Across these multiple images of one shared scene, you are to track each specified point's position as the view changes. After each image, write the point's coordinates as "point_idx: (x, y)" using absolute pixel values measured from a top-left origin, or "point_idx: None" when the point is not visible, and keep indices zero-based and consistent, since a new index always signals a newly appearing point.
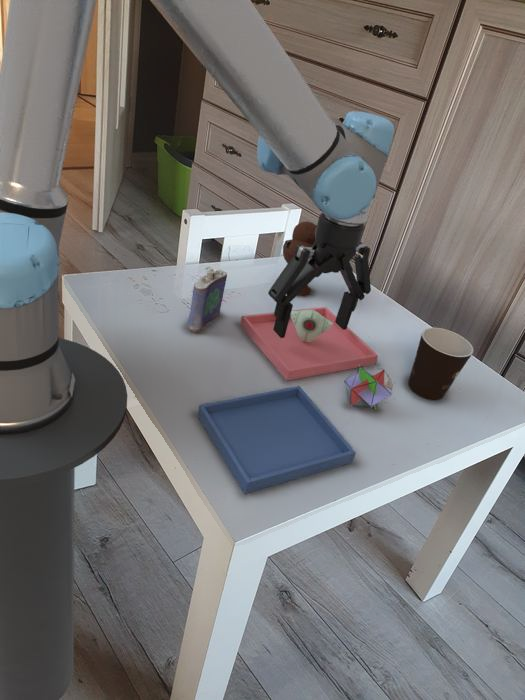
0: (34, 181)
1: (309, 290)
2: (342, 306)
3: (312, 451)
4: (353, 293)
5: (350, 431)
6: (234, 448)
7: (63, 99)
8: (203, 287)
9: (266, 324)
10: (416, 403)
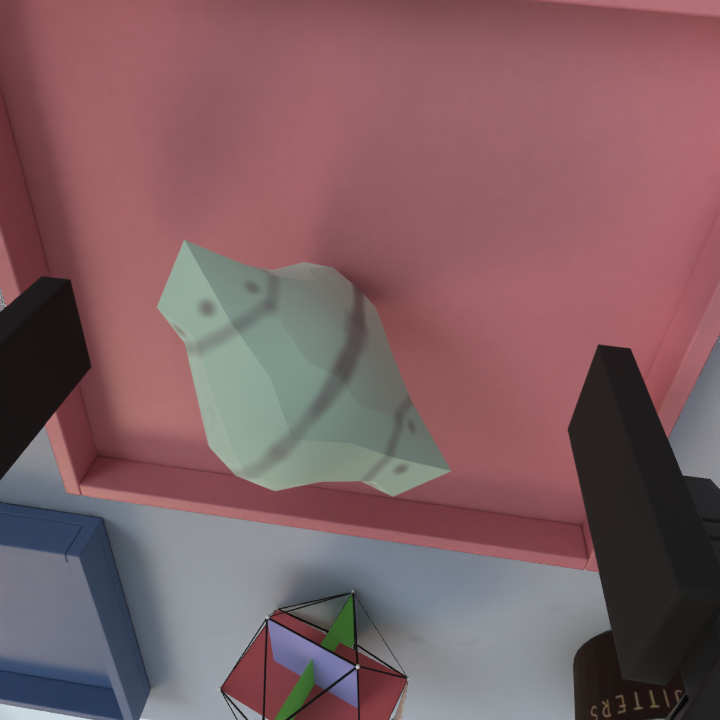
0: None
1: None
2: (626, 483)
3: (52, 655)
4: (695, 685)
5: (207, 649)
6: None
7: None
8: None
9: (151, 7)
10: (526, 677)
